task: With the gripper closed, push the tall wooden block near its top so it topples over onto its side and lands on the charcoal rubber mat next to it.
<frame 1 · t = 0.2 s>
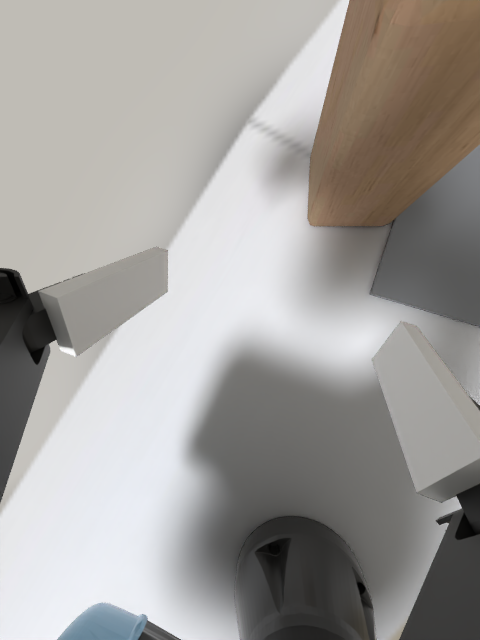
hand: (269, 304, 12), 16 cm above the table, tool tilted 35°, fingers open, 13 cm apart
wooden block: (346, 192, 28), on the table
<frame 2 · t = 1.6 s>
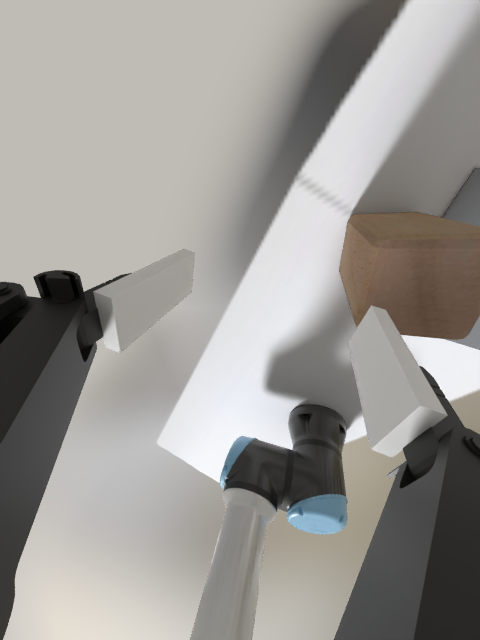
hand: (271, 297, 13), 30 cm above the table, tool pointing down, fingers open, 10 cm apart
wooden block: (374, 245, 36), on the table
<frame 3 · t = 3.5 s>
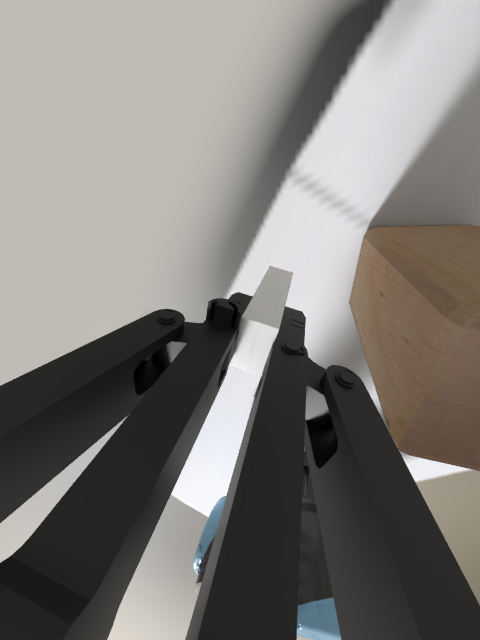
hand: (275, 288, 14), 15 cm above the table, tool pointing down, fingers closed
wooden block: (401, 270, 25), on the table
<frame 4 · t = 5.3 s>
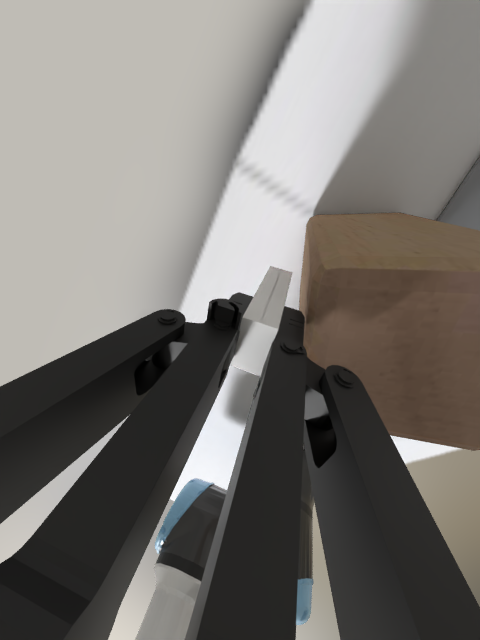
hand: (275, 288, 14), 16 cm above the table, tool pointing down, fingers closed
wooden block: (345, 258, 26), on the table, touching gripper
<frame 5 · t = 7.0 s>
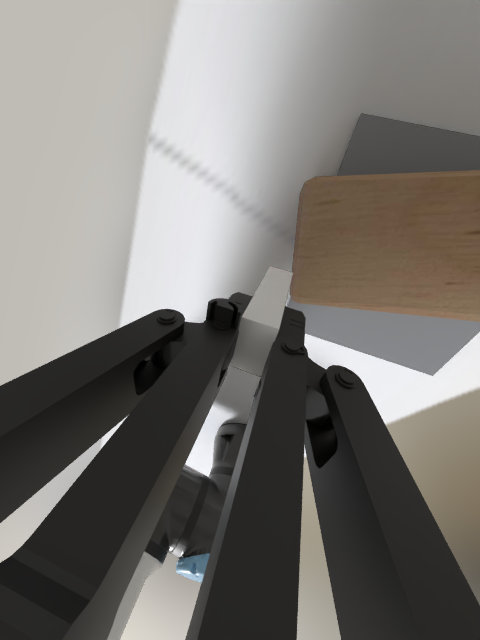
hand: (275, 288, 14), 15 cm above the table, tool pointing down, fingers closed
wooden block: (295, 239, 21), point 5 cm above the table, touching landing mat
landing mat: (403, 271, 25), on the table
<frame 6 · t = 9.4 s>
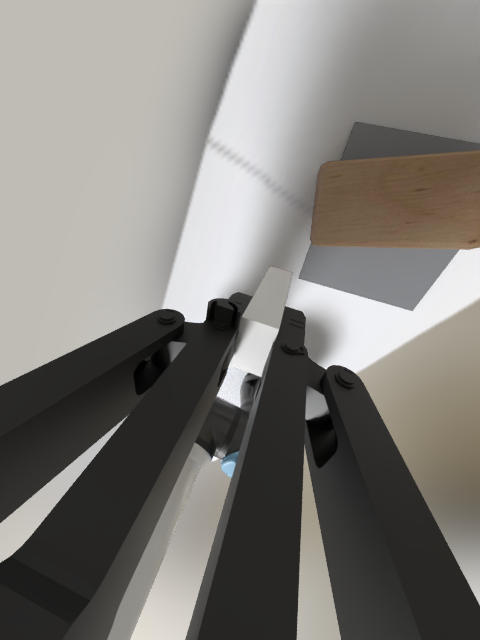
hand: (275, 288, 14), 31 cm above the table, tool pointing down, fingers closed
wooden block: (312, 205, 32), point 5 cm above the table, touching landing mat
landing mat: (387, 230, 36), on the table
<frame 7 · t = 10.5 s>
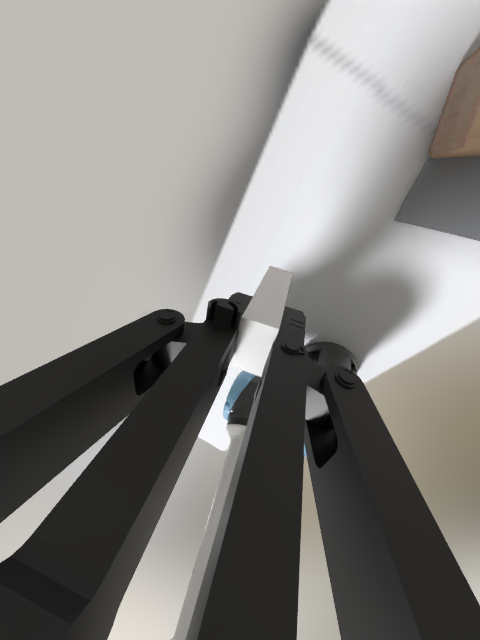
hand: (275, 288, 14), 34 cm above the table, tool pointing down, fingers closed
wooden block: (455, 104, 26), point 5 cm above the table, touching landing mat
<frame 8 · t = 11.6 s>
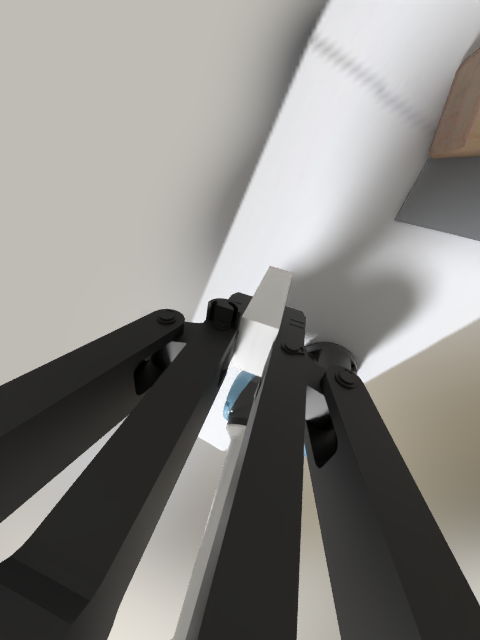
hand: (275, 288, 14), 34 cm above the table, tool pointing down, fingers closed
wooden block: (456, 104, 26), point 5 cm above the table, touching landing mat
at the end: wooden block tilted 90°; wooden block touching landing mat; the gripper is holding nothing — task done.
